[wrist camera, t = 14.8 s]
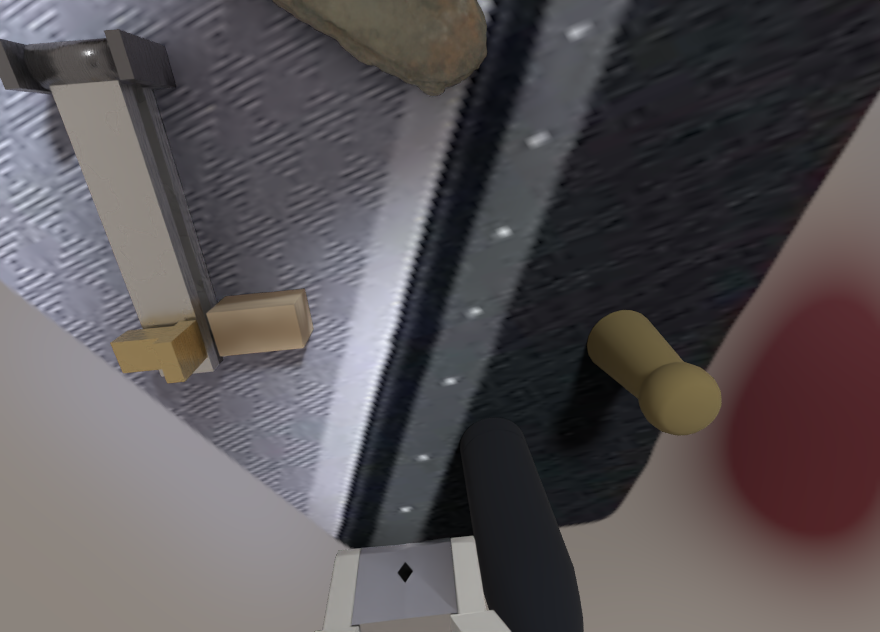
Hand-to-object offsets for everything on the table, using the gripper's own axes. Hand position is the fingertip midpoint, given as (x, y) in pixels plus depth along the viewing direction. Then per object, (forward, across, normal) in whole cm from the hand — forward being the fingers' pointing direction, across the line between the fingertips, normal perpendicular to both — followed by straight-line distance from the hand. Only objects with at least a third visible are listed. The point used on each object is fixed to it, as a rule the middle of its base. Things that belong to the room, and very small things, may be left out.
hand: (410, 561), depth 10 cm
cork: (+27, -18, +10) cm, 34 cm away
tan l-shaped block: (+23, +18, +4) cm, 30 cm away
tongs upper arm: (+25, +18, -4) cm, 31 cm away
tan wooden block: (+27, +12, +4) cm, 30 cm away
